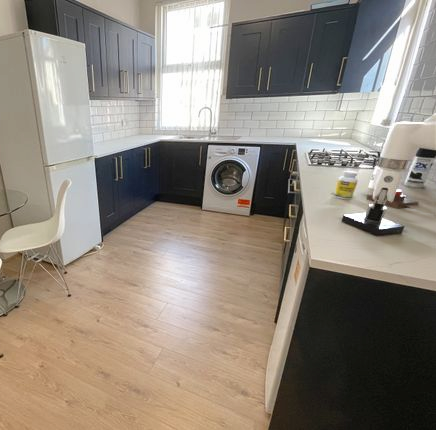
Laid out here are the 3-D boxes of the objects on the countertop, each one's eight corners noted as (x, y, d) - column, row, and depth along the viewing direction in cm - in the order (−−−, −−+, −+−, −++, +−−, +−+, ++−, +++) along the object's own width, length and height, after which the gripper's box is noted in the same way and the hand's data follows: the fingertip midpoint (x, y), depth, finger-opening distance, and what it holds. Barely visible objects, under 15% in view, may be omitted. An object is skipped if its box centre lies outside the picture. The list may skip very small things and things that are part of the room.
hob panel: (401, 233, 90) (404, 226, 89) (376, 236, 88) (379, 228, 87) (364, 219, 101) (366, 212, 100) (341, 221, 99) (343, 214, 98)
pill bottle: (331, 197, 124) (339, 171, 120) (335, 194, 128) (343, 169, 123) (349, 200, 119) (358, 174, 115) (353, 197, 123) (362, 171, 119)
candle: (364, 187, 137) (375, 157, 132) (381, 188, 135) (392, 157, 130) (370, 191, 132) (382, 159, 126) (388, 192, 130) (400, 160, 124)
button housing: (416, 207, 112) (420, 197, 111) (396, 208, 110) (400, 199, 109) (384, 197, 123) (388, 189, 122) (366, 199, 121) (369, 190, 120)
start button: (403, 195, 114) (405, 191, 113) (395, 196, 113) (397, 191, 112) (392, 193, 118) (394, 188, 117) (384, 193, 117) (386, 188, 116)
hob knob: (373, 217, 96) (378, 203, 94) (385, 222, 92) (391, 207, 90) (360, 217, 96) (365, 203, 94) (371, 223, 92) (377, 208, 90)
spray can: (402, 187, 138) (418, 146, 130) (403, 184, 142) (419, 144, 134) (421, 190, 133) (439, 147, 125) (422, 187, 137) (440, 146, 130)
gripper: (411, 170, 78) (387, 229, 85) (410, 161, 90) (389, 214, 97) (375, 166, 83) (356, 222, 90) (379, 158, 94) (361, 208, 101)
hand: (373, 217), depth 93 cm, fingers closed on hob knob, 4 cm apart
